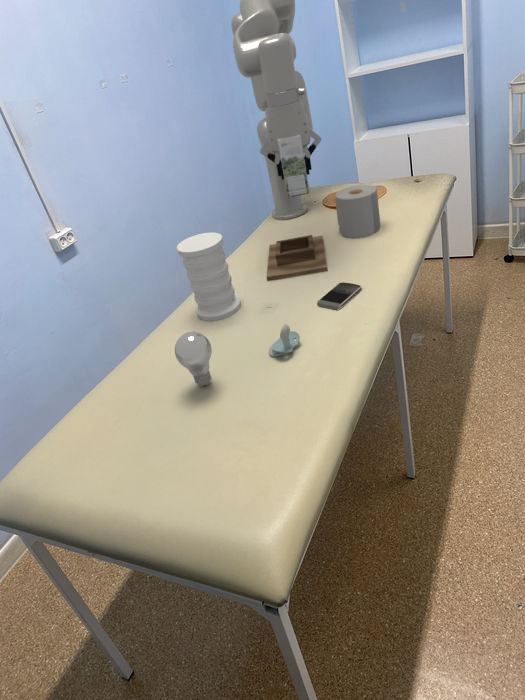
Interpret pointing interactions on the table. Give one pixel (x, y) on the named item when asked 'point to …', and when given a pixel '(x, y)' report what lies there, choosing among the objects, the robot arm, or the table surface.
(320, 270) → the stand
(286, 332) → the pacifier
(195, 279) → the decorative container
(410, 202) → the table surface
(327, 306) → the cell phone
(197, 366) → the light bulb
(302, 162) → the syrup box
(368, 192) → the toilet paper roll
